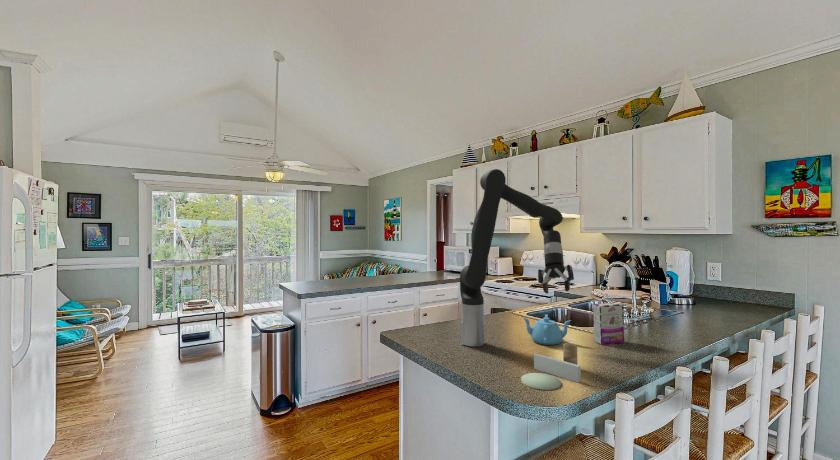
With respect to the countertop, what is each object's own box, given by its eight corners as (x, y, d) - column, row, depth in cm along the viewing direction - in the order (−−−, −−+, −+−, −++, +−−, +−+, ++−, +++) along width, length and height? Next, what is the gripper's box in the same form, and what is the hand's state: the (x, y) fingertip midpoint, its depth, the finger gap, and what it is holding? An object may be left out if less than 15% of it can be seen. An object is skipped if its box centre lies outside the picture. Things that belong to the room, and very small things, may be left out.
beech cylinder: (564, 370, 127) (563, 346, 128) (563, 365, 132) (562, 342, 132) (578, 371, 126) (577, 347, 126) (576, 366, 130) (576, 343, 130)
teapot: (545, 348, 151) (544, 323, 151) (520, 339, 165) (520, 316, 165) (572, 344, 157) (571, 319, 157) (546, 335, 171) (546, 312, 171)
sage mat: (520, 387, 114) (520, 385, 114) (521, 373, 125) (521, 371, 125) (562, 392, 110) (562, 389, 110) (559, 376, 122) (559, 375, 122)
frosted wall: (534, 368, 129) (533, 354, 129) (536, 367, 130) (536, 353, 130) (578, 382, 117) (578, 366, 117) (580, 381, 118) (580, 365, 118)
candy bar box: (616, 339, 162) (615, 302, 162) (624, 343, 157) (623, 304, 157) (593, 341, 159) (592, 303, 159) (601, 345, 154) (600, 305, 154)
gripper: (533, 255, 161) (536, 292, 155) (566, 249, 152) (570, 288, 146) (541, 259, 166) (544, 295, 160) (573, 254, 157) (577, 292, 151)
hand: (556, 292), depth 153 cm, fingers open, 8 cm apart
